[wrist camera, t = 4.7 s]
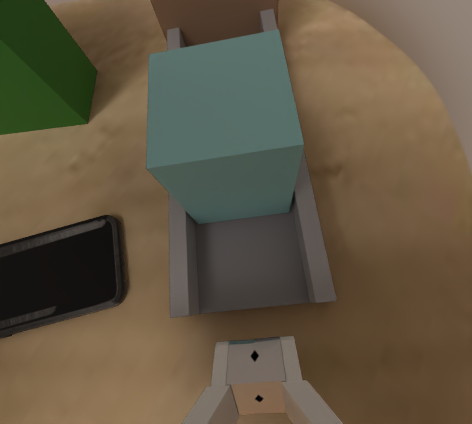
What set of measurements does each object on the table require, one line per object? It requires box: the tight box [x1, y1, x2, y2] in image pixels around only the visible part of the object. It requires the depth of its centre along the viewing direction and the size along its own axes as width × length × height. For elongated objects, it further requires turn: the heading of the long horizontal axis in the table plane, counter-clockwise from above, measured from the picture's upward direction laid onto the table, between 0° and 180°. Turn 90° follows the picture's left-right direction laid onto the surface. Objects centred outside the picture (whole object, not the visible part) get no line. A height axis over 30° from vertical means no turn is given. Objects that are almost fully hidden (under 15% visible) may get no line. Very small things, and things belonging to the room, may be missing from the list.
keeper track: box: [151, 0, 337, 318], centre depth 19 cm, size 11×30×12 cm, turn 6°
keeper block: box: [146, 29, 304, 224], centre depth 17 cm, size 7×7×9 cm
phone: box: [0, 215, 127, 338], centre depth 22 cm, size 8×1×15 cm
